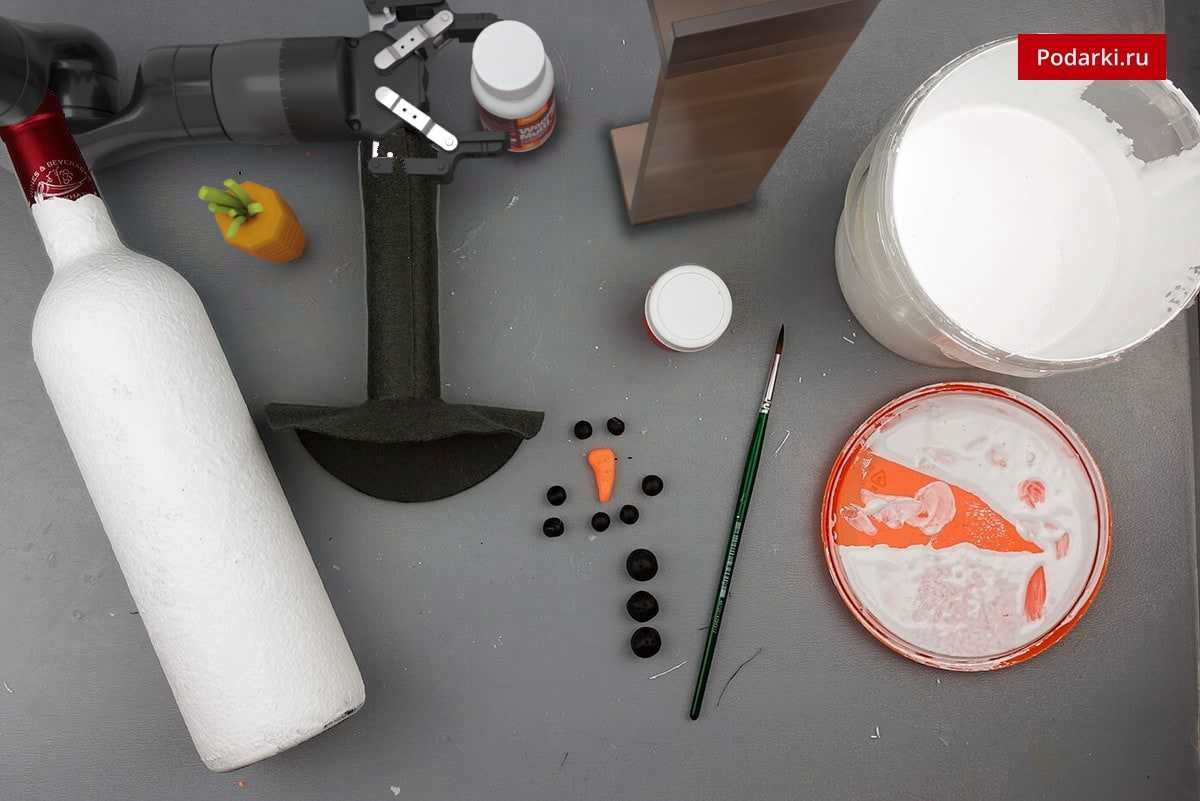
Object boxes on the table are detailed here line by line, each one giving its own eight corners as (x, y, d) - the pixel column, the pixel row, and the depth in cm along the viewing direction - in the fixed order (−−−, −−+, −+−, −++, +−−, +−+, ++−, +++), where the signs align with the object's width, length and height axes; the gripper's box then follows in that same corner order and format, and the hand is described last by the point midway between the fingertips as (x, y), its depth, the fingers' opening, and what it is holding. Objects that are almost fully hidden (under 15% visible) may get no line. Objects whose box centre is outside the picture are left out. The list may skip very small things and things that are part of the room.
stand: (609, 134, 74) (629, -69, 46) (726, 109, 75) (819, -107, 46) (631, 227, 74) (665, 80, 45) (749, 202, 74) (856, 40, 46)
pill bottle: (533, 167, 74) (525, 114, 63) (467, 131, 74) (448, 72, 63) (569, 103, 74) (568, 39, 63) (504, 68, 74) (491, -3, 63)
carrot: (339, 248, 73) (278, 193, 58) (297, 293, 73) (225, 249, 58) (294, 207, 73) (222, 142, 58) (252, 252, 73) (168, 198, 58)
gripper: (276, 168, 63) (508, 160, 63) (272, -28, 64) (500, -34, 64) (308, 200, 70) (515, 192, 71) (304, 24, 71) (508, 17, 72)
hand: (508, 84), depth 68 cm, fingers open, 8 cm apart
